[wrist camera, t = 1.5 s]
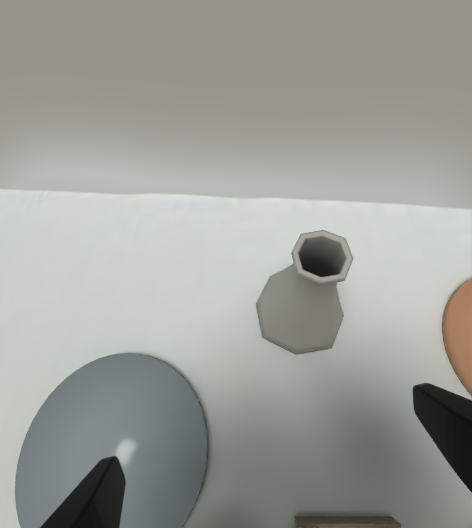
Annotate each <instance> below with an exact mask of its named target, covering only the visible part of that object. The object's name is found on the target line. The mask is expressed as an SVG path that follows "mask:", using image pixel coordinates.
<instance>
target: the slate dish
mask: <svg viewBox="0 0 472 528" xmlns="http://www.w3.org/2000/svg"><path fill="white" fill-rule="evenodd" d="M207 454H208V437H207V428H206V422H205V418H204V413H203V410H202V408H201V405H200V402H199V400H198V398H197V396H196V394H195V392H194V390H193V389H192V387H191V386H190V385H189V383H188V382H187V381H186V380H185V378H184V377H183V376H182V375H181V374H180V373H179V372H177V371H176V370H175V369H174V368H172V367H171V366H169V365H167V364H166V363H164V362H162V361H160V360H158V359H155V358H153V357H150V356H146V355H142V354H133V353H123V354H115V355H110V356H106V357H103V358H100V359H97V360H95V361H93V362H90V363H88V364H86V365H85V366H83V367H81V368H80V369H78V370H76V371H75V372H74V373H72V374H71V375H70V376H68V377H67V378H66V379H65V380H64V381H63V382H62V383H61V384H60V385H58V386H57V387H56V389H55V390H54V391H53V392H52V393H51V394H50V395H49V397H48V398H47V399H46V401H45V402H44V403H43V405H42V406H41V408H40V409H39V411H38V413H37V414H36V416H35V418H34V419H33V421H32V423H31V425H30V428H29V430H28V432H27V434H26V437H25V440H24V442H23V445H22V448H21V452H20V456H19V460H18V465H17V472H16V481H15V499H16V509H17V515H18V520H19V524H20V527H21V528H40V527H41V526H42V525H43V523H44V522H45V521H46V520H47V519H48V518H49V517H50V516H51V514H52V513H53V512H54V511H55V510H56V509H57V508H58V507H59V506H60V504H61V503H62V502H63V501H64V500H65V499H66V498H67V497H68V495H69V494H70V493H71V492H72V491H73V490H74V489H75V488H76V487H77V485H78V484H79V483H80V482H81V481H82V480H83V479H84V478H85V476H86V475H87V474H88V473H89V472H90V471H91V470H92V469H93V468H94V466H95V465H96V464H97V463H98V462H99V461H100V460H101V459H103V458H106V457H111V456H117V457H118V459H119V462H120V465H121V467H122V470H123V473H124V475H125V480H126V486H125V493H124V500H123V506H122V513H121V520H120V526H119V528H181V527H182V526H183V524H184V523H185V521H186V519H187V518H188V516H189V514H190V513H191V511H192V509H193V506H194V504H195V502H196V500H197V498H198V495H199V492H200V489H201V486H202V483H203V479H204V474H205V470H206V463H207Z"/></svg>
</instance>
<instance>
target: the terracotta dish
mask: <svg viewBox="0 0 472 528" xmlns="http://www.w3.org/2000/svg"><path fill="white" fill-rule="evenodd" d="M442 330H443V340H444V344H445V349H446V352H447V355H448V357H449V360H450V362H451V364H452V366H453V369H454V371H455V373H456V374H457V376H458V377H459V379H460V381H461V382H462V384H463V385H464V387H465V388H466V389H467V390H468V392H469V393H470V394H471V396H472V279H470V280H468V281H467V282H465V283H464V284H463V285H461V286H460V287H459V288H458V289H457V290H456V291H455V292H454V293H453V294H452V296H451V297H450V299H449V300H448V303H447V305H446V308H445V311H444V315H443V324H442Z"/></svg>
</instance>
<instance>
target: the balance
mask: <svg viewBox="0 0 472 528" xmlns="http://www.w3.org/2000/svg"><path fill="white" fill-rule="evenodd" d="M295 527H296V528H401V524H400V523H399V522H397V521H396V520H395V519H394V518H392V517H295Z"/></svg>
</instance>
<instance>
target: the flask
mask: <svg viewBox="0 0 472 528" xmlns="http://www.w3.org/2000/svg"><path fill="white" fill-rule="evenodd" d="M291 254H292V258H293V262H294V263H293V264H292V265H291V266H289V267H287V268H286V269H284V270H282V271H280V272H278V273H276V274H274V275H272V276H270V278H269V280H268V282H267V284H266V286H265V287H264V289H263V291H262V293H261V295H260V297H259V299H258V301H257V303H256V307H257V312H258V317H259V322H260V327H261V332H262V337H263V338H265V339H267V340H268V341H270V342H272V343H274V344H276V345H278V346H280V347H282V348H284V349H286V350H288V351H290V352H292V353H294V354H300V353H306V352H312V351H317V350H323V349H329V348H332V346H333V343H334V340H335V338H336V335H337V333H338V330H339V327H340V325H341V322H342V319H343V317H344V315H343V311H342V308H341V305H340V302H339V297H338V292H337V288H336V284H337V282H341V281H344V280H345V278H346V276H347V273H348V271H349V268H350V266H351V263H352V261H353V256H352V254H351V251H350V249H349V246H348V244H347V241H346V239H345V238H343V237H340V236H338V235H335V234H332V233H330V232H327V231H324V230H321V231H315V232H309V233H304V234H301V235H300V237H299V239H298V241H297V243H296V245H295V247H294V249H293V251H292V253H291Z"/></svg>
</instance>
